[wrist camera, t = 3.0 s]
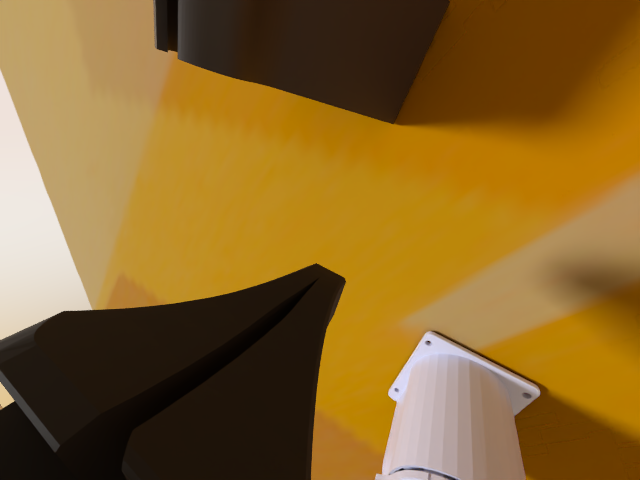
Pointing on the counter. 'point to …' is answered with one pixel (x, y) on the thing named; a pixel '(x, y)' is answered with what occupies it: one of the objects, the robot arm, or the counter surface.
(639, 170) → the counter surface
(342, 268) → the counter surface
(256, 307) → the robot arm
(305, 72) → the door stopper
